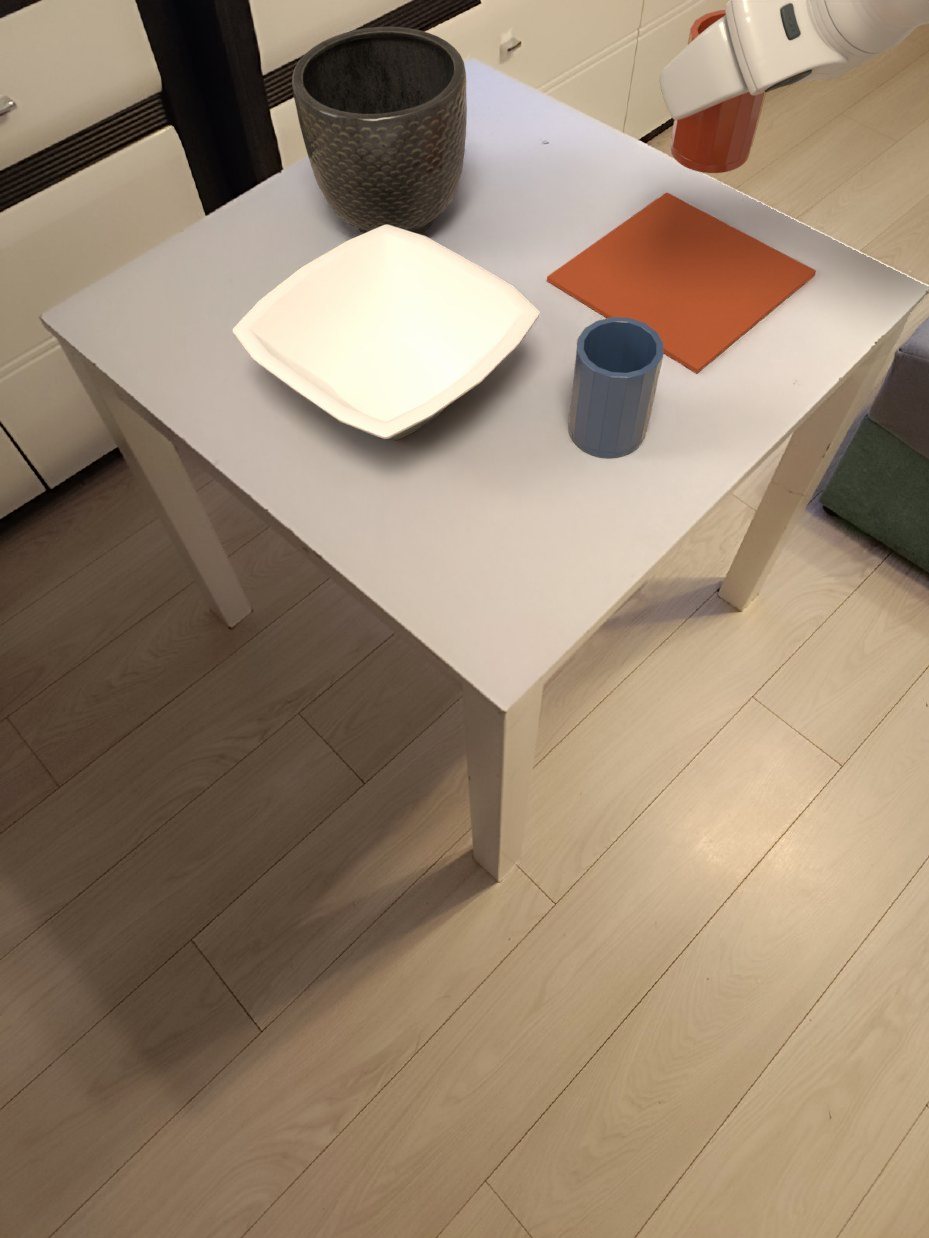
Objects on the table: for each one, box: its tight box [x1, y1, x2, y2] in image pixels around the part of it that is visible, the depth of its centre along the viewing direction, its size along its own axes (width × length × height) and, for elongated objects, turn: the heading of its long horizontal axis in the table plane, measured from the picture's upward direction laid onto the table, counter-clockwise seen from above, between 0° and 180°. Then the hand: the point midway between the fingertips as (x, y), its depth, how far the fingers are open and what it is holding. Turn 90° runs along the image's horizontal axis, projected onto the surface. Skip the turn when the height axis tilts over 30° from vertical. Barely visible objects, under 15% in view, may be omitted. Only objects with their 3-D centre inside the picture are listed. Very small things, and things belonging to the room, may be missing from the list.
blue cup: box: [568, 317, 664, 459], centre depth 76 cm, size 7×7×10 cm
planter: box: [291, 26, 468, 235], centre depth 91 cm, size 17×17×16 cm
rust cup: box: [670, 9, 767, 174], centre depth 75 cm, size 7×7×10 cm
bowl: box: [232, 225, 541, 441], centre depth 81 cm, size 22×23×8 cm
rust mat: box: [546, 191, 817, 374], centre depth 91 cm, size 20×20×1 cm
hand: (717, 85), depth 75 cm, fingers closed on rust cup, 7 cm apart
